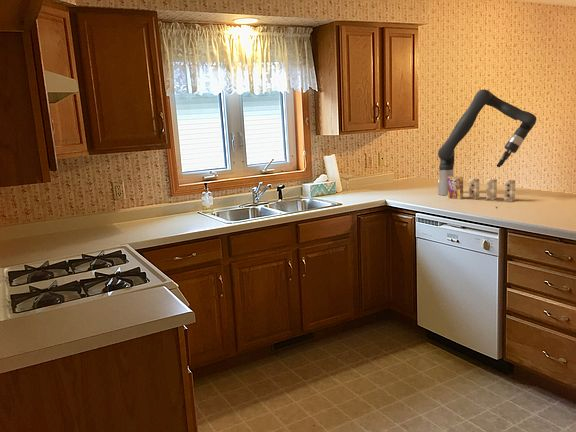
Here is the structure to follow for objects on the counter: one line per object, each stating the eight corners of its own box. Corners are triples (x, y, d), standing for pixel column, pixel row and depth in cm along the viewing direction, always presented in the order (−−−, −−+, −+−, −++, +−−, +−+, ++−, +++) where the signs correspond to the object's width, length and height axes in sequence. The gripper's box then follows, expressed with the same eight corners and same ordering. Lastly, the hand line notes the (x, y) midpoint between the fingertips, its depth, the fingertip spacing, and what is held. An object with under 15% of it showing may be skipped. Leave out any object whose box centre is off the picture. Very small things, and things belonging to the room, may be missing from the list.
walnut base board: (464, 201, 311) (464, 198, 310) (471, 198, 317) (471, 196, 317) (512, 204, 289) (512, 202, 289) (519, 202, 296) (519, 199, 296)
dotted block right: (504, 200, 295) (504, 180, 293) (507, 199, 299) (507, 179, 296) (511, 201, 292) (512, 181, 290) (514, 200, 295) (515, 179, 293)
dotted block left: (469, 198, 311) (469, 179, 309) (472, 197, 314) (472, 178, 312) (475, 198, 308) (476, 179, 306) (479, 197, 311) (479, 178, 309)
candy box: (463, 200, 313) (463, 176, 310) (459, 201, 310) (459, 177, 307) (451, 199, 320) (451, 176, 317) (447, 200, 317) (447, 176, 314)
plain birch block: (486, 199, 303) (486, 179, 301) (489, 198, 306) (489, 178, 304) (493, 199, 300) (493, 180, 298) (496, 198, 303) (496, 179, 301)
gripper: (506, 142, 313) (491, 164, 315) (510, 138, 299) (495, 161, 301) (517, 148, 311) (502, 170, 313) (521, 145, 297) (506, 167, 299)
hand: (498, 166), depth 307 cm, fingers open, 8 cm apart
